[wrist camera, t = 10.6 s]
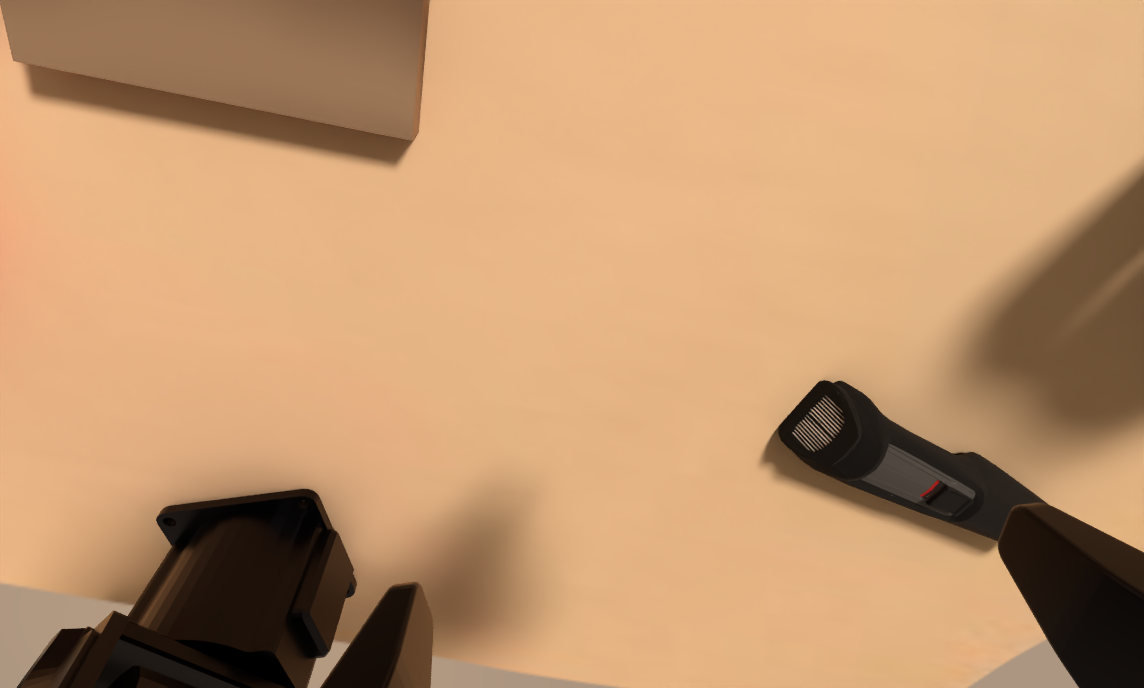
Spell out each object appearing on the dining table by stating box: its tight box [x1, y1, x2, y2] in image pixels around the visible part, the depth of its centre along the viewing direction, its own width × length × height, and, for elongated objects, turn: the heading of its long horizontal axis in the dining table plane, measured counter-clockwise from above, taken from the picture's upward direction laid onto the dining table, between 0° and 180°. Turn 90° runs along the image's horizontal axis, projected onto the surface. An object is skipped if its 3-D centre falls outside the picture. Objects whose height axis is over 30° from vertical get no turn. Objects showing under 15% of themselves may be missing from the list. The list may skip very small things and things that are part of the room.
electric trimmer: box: [778, 380, 1047, 541], centre depth 26 cm, size 4×16×3 cm, turn 60°
